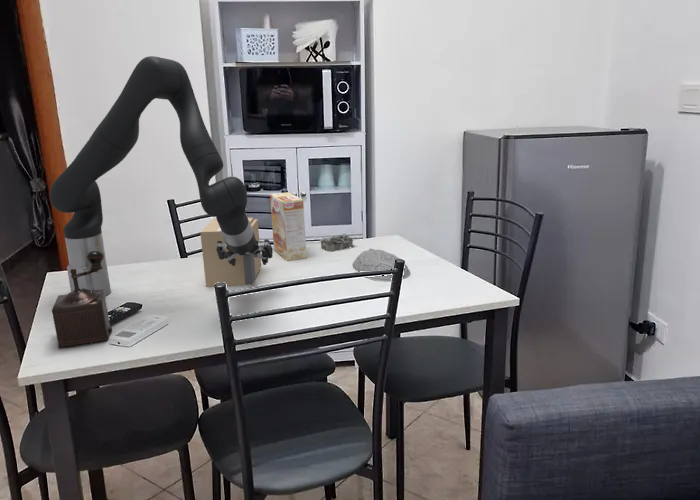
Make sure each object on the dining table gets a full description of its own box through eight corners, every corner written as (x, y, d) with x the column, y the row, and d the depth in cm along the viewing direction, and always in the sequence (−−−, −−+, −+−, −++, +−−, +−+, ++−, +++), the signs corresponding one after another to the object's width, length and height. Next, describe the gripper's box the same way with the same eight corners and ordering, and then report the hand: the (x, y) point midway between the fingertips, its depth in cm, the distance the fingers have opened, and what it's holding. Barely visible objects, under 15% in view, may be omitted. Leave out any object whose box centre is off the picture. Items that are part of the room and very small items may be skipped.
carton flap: (258, 266, 182) (254, 219, 177) (264, 266, 182) (260, 219, 177) (245, 289, 161) (241, 237, 157) (253, 289, 161) (248, 237, 157)
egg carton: (327, 253, 196) (327, 241, 195) (318, 247, 202) (317, 236, 201) (355, 248, 201) (355, 236, 200) (345, 243, 207) (345, 231, 206)
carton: (218, 268, 182) (213, 218, 177) (257, 267, 182) (253, 217, 177) (206, 286, 167) (200, 231, 162) (248, 285, 166) (243, 230, 162)
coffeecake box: (273, 250, 201) (269, 193, 195) (293, 247, 203) (289, 191, 198) (286, 261, 187) (282, 201, 182) (307, 258, 190) (304, 199, 185)
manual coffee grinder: (111, 341, 133) (99, 265, 128) (57, 349, 130) (43, 272, 125) (114, 316, 147) (104, 247, 142) (66, 323, 144) (53, 253, 139)
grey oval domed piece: (376, 284, 163) (378, 261, 162) (339, 265, 185) (340, 244, 184) (424, 280, 169) (425, 258, 168) (382, 262, 192) (383, 242, 190)
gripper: (266, 219, 150) (275, 249, 164) (211, 221, 150) (225, 251, 164) (265, 245, 146) (274, 273, 160) (208, 246, 146) (222, 275, 161)
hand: (249, 262), depth 162 cm, fingers open, 8 cm apart
